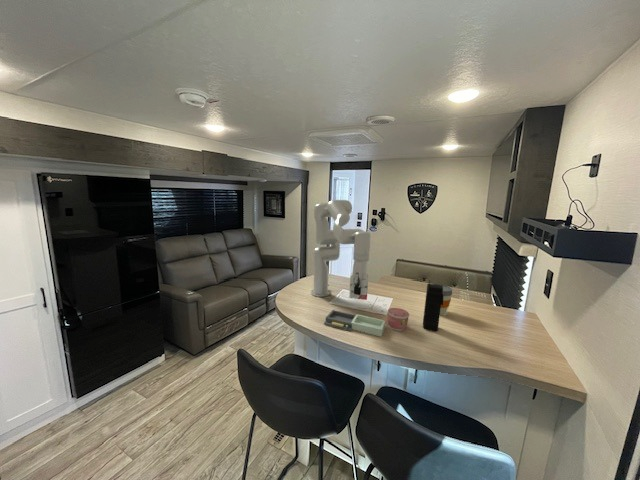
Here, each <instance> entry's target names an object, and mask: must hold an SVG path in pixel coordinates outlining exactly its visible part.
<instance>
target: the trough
mask: <svg viewBox="0 0 640 480" xmlns="http://www.w3.org/2000/svg"><path fill="white" fill-rule="evenodd" d="M355 315H356V316H355V317H354V319H353V320H352V322H351V324H352V330H354V331H356V330H357V332H360V331H361V333H364V332H365V334H370V335H374V336H377V337H382V336H383V334H382V333H384V331H385V328H386V320H384V319H379V318H376V317H371V316H367V315H362V314H355ZM352 330H351V331H352Z"/></svg>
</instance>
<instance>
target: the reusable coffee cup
mask: <svg viewBox="0 0 640 480" xmlns="http://www.w3.org/2000/svg"><path fill="white" fill-rule="evenodd" d="M433 284H434V285H442V286H443V306H442V305H441V309H440V316H445V315H447V311H448V309H449V307H450V304H451V300H452V299H451V297H452V295H453V288H452V287H450V286H448V285H445V284H441V283H433Z"/></svg>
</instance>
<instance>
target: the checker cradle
mask: <svg viewBox="0 0 640 480" xmlns="http://www.w3.org/2000/svg"><path fill="white" fill-rule="evenodd" d="M355 316H356V314H353V313H349V312H344V311H340V310H336V309H332V310H331V311H330V312H329V313H328V314H327V315H326V316H325V321H324V323H323V325H324V326H327V327H328V326H329V327H332V328H336V329H341V330H344V331H349V332H351V331H352V324H351V322H352V320H353V319H354V317H355Z"/></svg>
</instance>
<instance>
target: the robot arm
mask: <svg viewBox="0 0 640 480" xmlns="http://www.w3.org/2000/svg"><path fill="white" fill-rule="evenodd" d="M352 211H353V205H352V203H351V202H350V200H348V199H332V200H330V201H329V202H320V203H317V204H316V205H314V208H313V217H314V221H315V222H314V223H315V243H316V244H317V245H319V246H317V247H315V248H314V249H313V251H312V256H313V262H314V263H313V264H314V265H313V288H312V290H311V291H310V294H311V295H312V296H314V297H318V298H319V297H321V298H324V297H328V296H330V295H331V291H330V290H329V288H328V287H330V285H329V272H330V270H329V268H330V267H329V266H328V264H327V263H326V262H331V261H337V260H339V258H340V253H341V250H340V249H341V245H353V257H352V259H353V266H352V272H351V273H352V280H354V279H355V280H354V294H356V295H360V294H361V287H360V285H361V281H362V280H363V277H364V276H365V275H366V274H367V272H368V262H369V261H370V247H371V233H370V232H369V231H365V230H363V229H359V228H343V227H344V226H345V225H347V224H348V223H349V221H350V219H351V217H350V216H351V215H350V214H351V213H352ZM328 218H332V219H333V220H334V222H333V227H332V229H330V223H329V220H328ZM327 245H330V246H327ZM358 279H359V280H360V281H358ZM358 282H359V283H358Z"/></svg>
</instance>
